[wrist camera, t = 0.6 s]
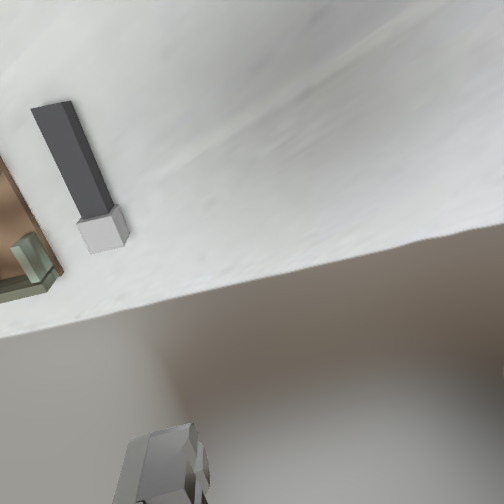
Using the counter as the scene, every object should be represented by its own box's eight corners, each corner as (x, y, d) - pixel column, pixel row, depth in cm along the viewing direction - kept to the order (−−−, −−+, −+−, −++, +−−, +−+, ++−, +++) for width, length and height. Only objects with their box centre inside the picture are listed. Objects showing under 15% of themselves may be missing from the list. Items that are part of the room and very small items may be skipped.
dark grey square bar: (37, 107, 35) (20, 110, 31) (75, 99, 35) (62, 101, 31) (99, 240, 42) (90, 254, 39) (129, 233, 43) (124, 246, 39)
